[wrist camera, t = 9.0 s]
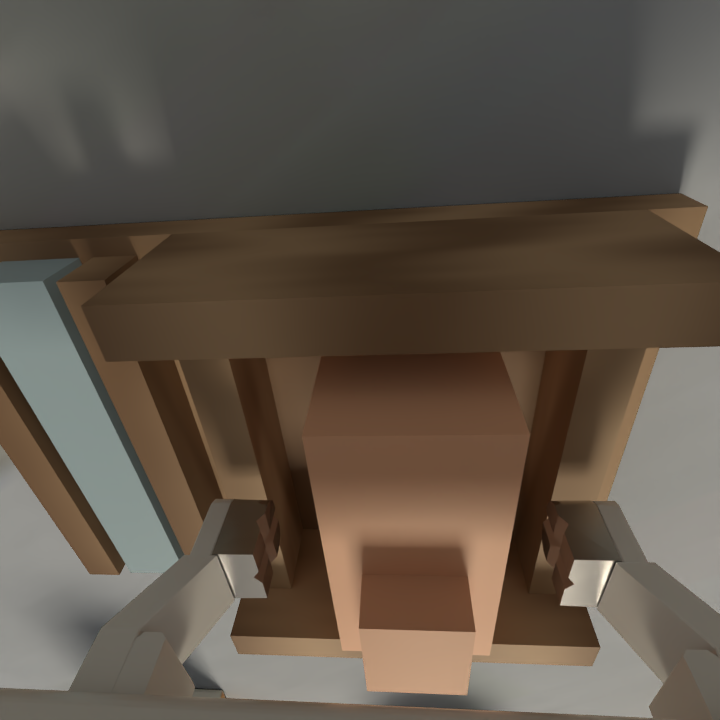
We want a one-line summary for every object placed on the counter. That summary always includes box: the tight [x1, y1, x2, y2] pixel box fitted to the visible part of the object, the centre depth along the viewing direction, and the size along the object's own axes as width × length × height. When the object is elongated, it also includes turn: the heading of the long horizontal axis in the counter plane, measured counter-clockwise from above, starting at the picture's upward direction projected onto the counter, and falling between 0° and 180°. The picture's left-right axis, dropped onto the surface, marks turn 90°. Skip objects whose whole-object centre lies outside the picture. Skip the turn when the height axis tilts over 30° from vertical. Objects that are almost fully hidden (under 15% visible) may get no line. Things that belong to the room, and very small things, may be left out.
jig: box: [0, 193, 720, 666], centre depth 14 cm, size 20×13×5 cm, turn 94°
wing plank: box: [0, 258, 184, 573], centre depth 15 cm, size 2×12×2 cm, turn 4°
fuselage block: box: [302, 352, 530, 695], centre depth 12 cm, size 4×8×6 cm, turn 4°
